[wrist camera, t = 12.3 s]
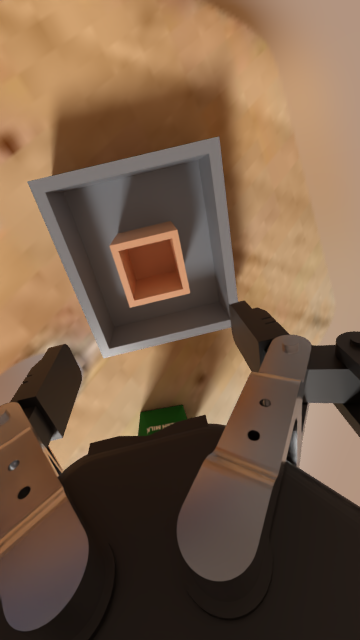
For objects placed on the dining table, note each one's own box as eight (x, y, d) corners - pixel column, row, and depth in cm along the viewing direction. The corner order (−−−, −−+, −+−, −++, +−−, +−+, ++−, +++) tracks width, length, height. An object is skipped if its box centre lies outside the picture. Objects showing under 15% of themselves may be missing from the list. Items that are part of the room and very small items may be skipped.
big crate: (51, 183, 26) (27, 181, 21) (204, 147, 26) (219, 136, 21) (110, 332, 34) (103, 358, 29) (226, 304, 35) (240, 325, 29)
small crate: (117, 233, 28) (109, 245, 22) (170, 220, 28) (177, 229, 22) (133, 284, 31) (129, 307, 25) (181, 272, 31) (190, 293, 25)
